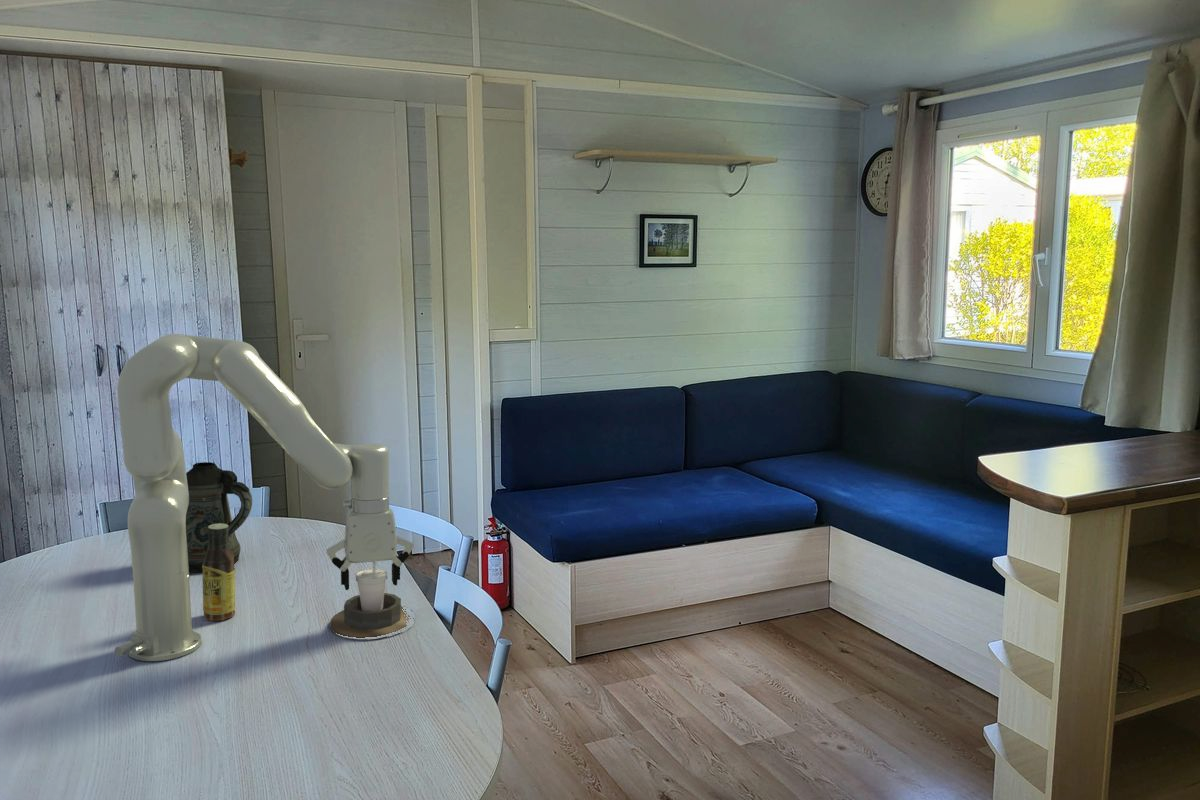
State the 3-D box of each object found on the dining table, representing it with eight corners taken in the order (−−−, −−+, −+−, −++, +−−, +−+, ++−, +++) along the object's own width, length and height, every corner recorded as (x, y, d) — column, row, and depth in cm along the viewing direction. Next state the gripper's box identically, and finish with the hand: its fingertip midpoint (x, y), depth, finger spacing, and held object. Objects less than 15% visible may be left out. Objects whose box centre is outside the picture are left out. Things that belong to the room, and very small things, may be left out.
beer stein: (168, 556, 224) (163, 459, 220) (251, 548, 232) (247, 454, 228) (167, 577, 209) (161, 474, 205) (256, 567, 217) (251, 467, 214)
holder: (383, 645, 174) (383, 623, 173) (312, 631, 180) (312, 610, 179) (430, 615, 190) (430, 594, 189) (363, 603, 196) (363, 583, 195)
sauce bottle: (197, 619, 185) (192, 526, 182) (222, 609, 191) (217, 519, 188) (218, 625, 182) (214, 531, 179) (243, 615, 188) (239, 524, 185)
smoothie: (383, 625, 181) (382, 559, 179) (352, 624, 181) (350, 558, 179) (391, 613, 188) (390, 549, 186) (361, 612, 188) (360, 548, 186)
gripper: (327, 512, 175) (328, 596, 177) (416, 506, 181) (416, 587, 183) (324, 503, 181) (325, 583, 184) (410, 497, 188) (410, 575, 190)
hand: (370, 585), depth 184 cm, fingers open, 9 cm apart
